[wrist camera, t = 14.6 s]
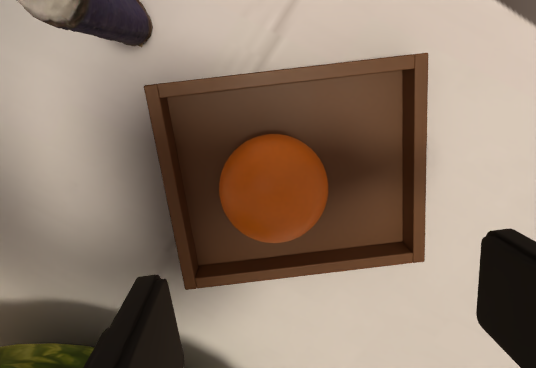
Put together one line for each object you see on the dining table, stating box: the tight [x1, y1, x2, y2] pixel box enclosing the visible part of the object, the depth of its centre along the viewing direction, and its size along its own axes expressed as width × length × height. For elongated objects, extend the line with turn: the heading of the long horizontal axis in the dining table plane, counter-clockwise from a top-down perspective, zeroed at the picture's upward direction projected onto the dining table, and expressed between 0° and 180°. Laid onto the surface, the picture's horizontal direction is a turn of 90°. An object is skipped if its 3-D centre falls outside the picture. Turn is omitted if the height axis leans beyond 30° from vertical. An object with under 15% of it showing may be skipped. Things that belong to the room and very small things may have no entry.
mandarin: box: [219, 134, 328, 243], centre depth 21 cm, size 6×6×6 cm
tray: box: [144, 53, 428, 290], centre depth 23 cm, size 17×14×2 cm
